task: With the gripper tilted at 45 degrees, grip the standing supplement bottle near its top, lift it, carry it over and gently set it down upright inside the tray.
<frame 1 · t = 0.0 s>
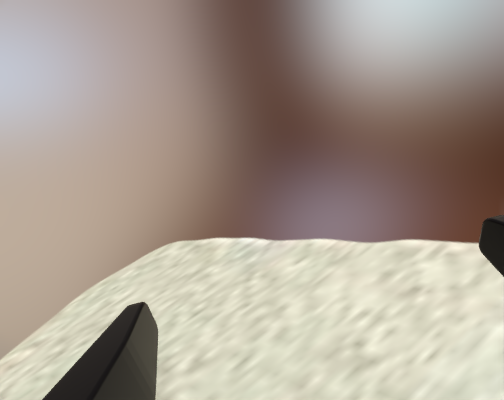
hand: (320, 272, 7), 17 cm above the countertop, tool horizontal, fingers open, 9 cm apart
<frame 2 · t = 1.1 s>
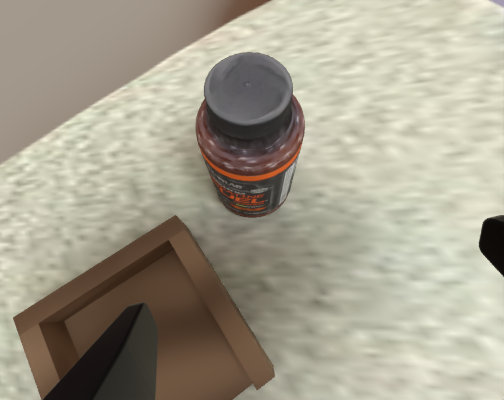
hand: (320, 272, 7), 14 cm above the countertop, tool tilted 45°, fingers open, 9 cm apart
supplement bottle: (253, 185, 23), on the countertop
tray: (155, 339, 19), on the countertop
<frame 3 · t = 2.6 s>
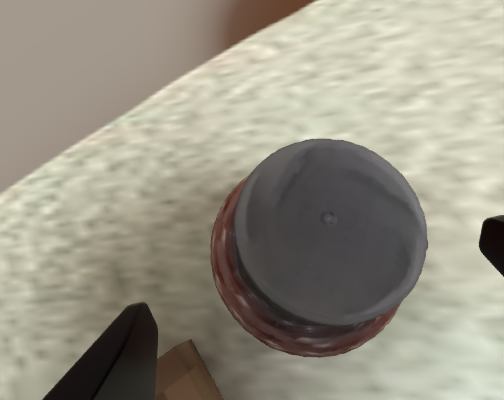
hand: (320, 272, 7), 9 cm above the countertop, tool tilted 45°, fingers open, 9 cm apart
supplement bottle: (284, 274, 17), on the countertop
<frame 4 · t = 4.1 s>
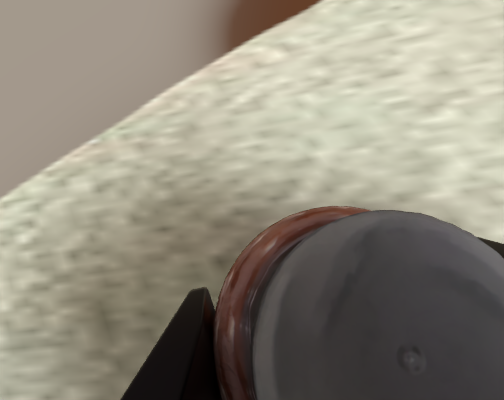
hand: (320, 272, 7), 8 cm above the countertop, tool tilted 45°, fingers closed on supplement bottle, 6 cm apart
supplement bottle: (298, 316, 14), on the countertop, touching gripper
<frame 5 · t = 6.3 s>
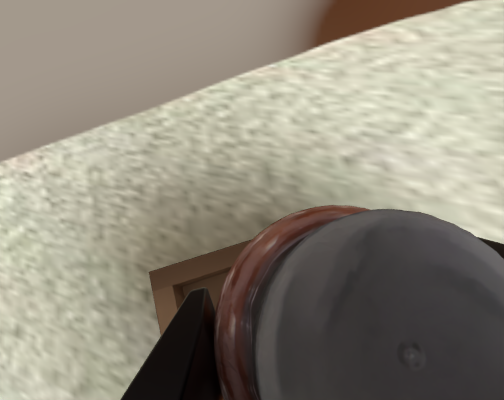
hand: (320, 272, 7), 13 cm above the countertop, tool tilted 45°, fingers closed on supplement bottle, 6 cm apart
supplement bottle: (296, 314, 14), point 5 cm above the countertop, touching gripper
tray: (265, 333, 19), on the countertop
when the fingers open (9 cm above the countertop, at t = 8.4 s): supplement bottle stays where it is, resting on tray.
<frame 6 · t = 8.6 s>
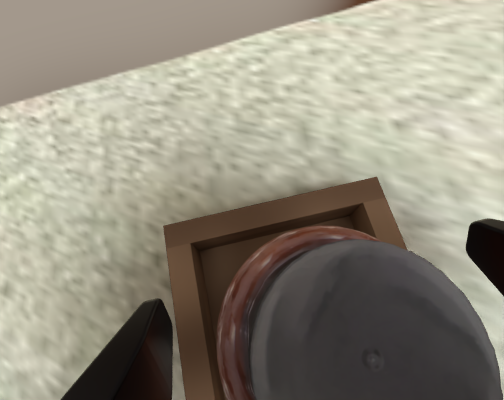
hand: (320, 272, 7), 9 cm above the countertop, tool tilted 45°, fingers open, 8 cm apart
supplement bottle: (293, 318, 15), resting on tray
tray: (295, 313, 16), on the countertop
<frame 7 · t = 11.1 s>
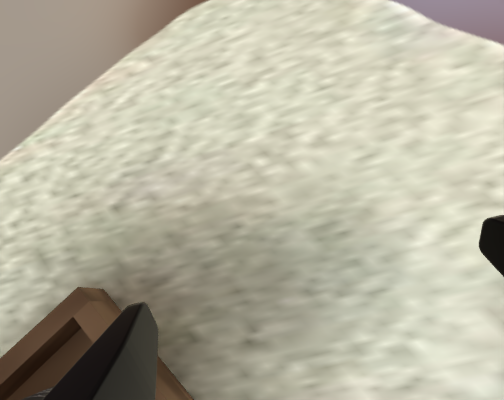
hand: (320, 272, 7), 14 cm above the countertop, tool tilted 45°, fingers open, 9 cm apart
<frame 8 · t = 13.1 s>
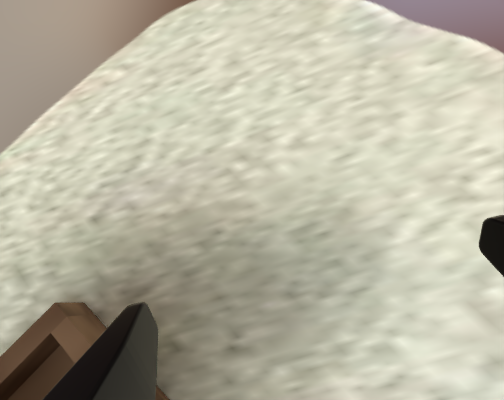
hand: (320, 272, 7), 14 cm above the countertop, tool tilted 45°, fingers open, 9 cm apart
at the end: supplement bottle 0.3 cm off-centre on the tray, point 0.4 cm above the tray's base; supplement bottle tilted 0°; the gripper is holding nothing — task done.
